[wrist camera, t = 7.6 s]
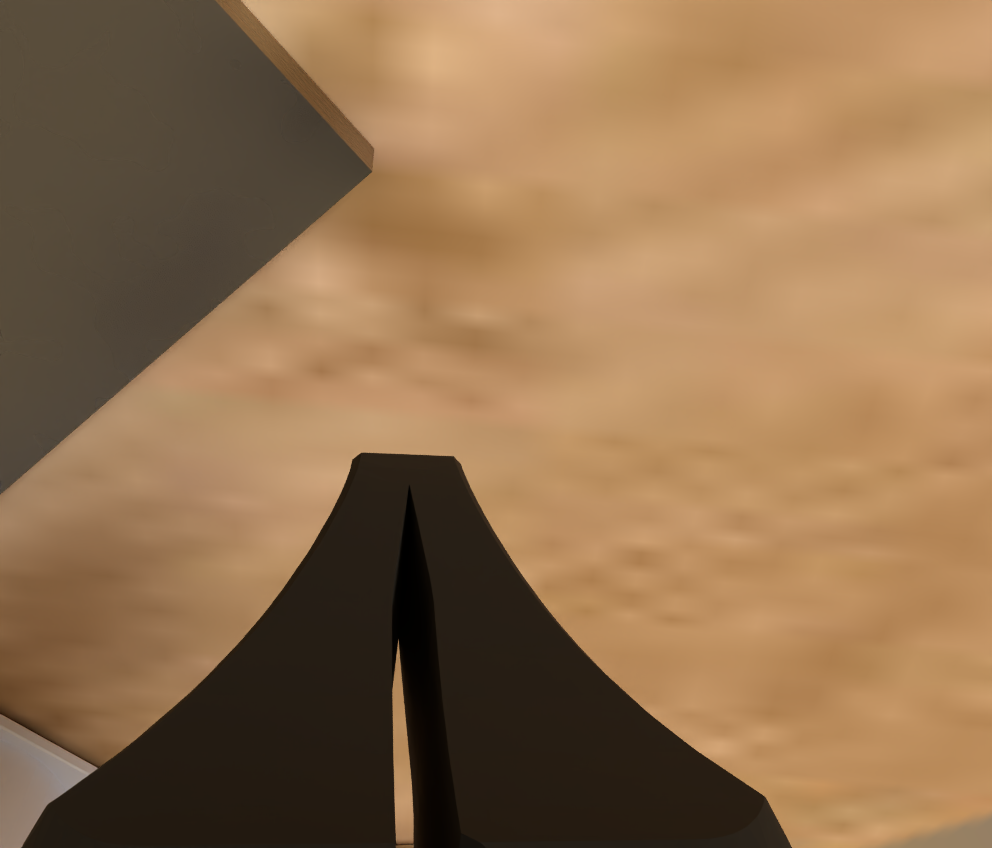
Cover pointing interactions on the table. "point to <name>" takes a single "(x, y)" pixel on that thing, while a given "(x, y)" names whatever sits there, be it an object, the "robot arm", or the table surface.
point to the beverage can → (404, 846)
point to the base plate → (141, 190)
